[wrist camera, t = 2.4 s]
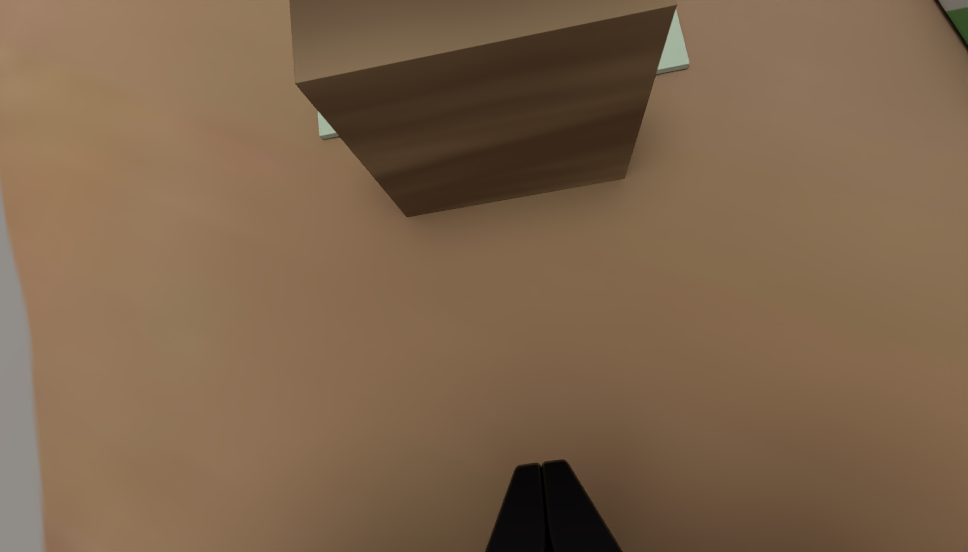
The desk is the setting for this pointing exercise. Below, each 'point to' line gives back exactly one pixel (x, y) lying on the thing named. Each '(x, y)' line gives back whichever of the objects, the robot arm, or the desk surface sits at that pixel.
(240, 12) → the desk surface
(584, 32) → the walnut plaque
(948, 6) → the ink box
